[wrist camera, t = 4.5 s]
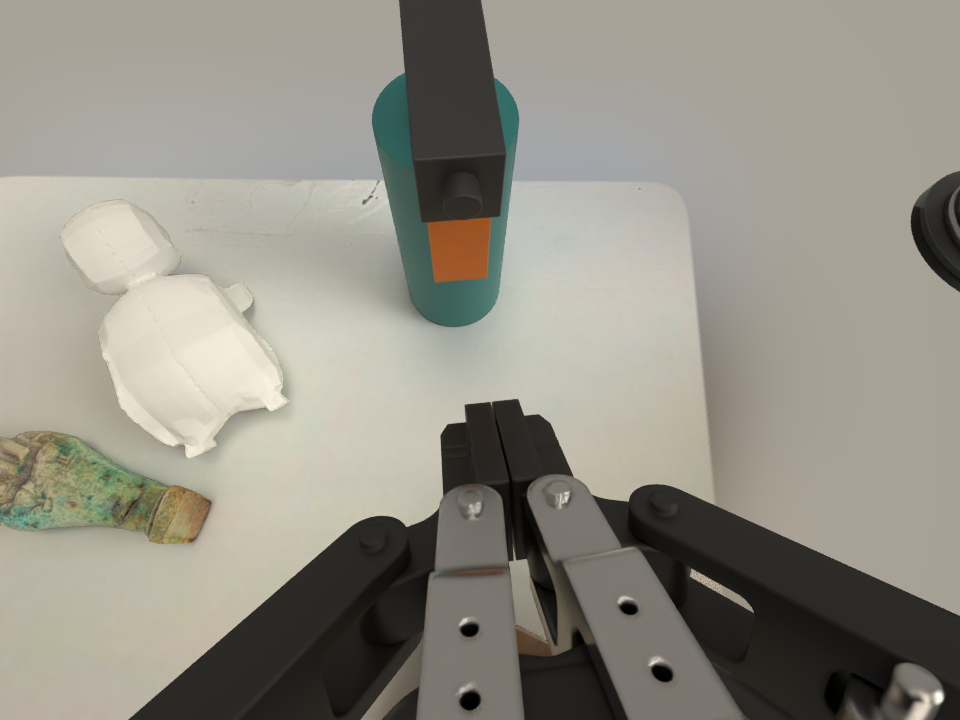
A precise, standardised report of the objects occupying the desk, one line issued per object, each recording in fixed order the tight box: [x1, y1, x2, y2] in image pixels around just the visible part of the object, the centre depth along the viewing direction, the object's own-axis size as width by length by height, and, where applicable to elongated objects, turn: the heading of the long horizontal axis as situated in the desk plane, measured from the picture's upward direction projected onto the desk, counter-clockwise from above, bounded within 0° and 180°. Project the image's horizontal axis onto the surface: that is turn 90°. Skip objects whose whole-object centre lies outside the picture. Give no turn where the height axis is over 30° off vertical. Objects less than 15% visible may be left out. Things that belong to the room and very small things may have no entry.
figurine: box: [0, 431, 211, 544], centre depth 28 cm, size 6×15×4 cm, turn 69°
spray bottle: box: [372, 0, 519, 327], centre depth 26 cm, size 11×6×20 cm, turn 6°
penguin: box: [60, 199, 290, 458], centre depth 30 cm, size 8×8×15 cm
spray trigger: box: [427, 218, 491, 282], centre depth 21 cm, size 1×2×5 cm, turn 97°
